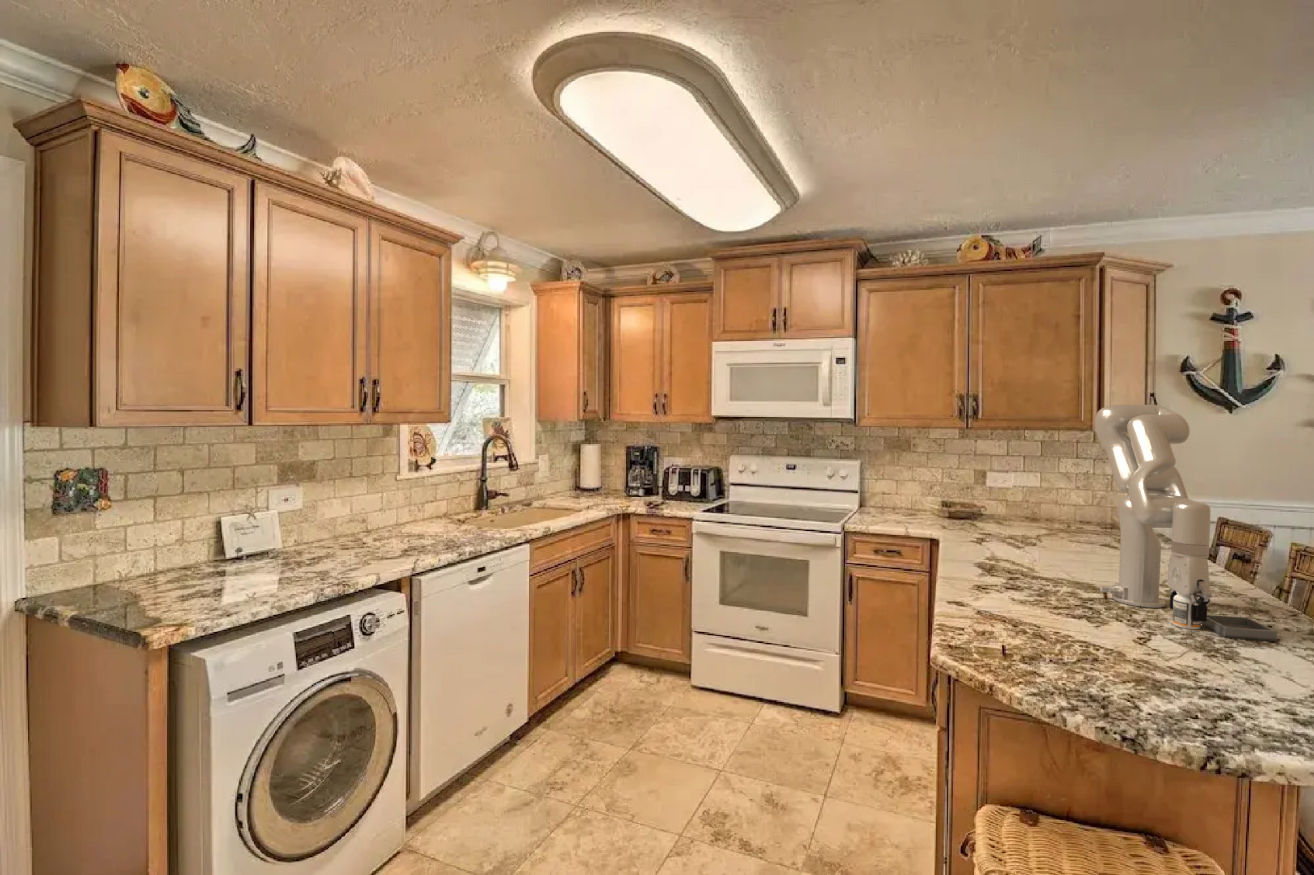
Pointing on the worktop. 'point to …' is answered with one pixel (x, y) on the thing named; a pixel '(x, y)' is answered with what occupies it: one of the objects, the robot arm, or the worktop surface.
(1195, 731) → the worktop surface
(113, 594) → the worktop surface
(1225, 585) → the worktop surface
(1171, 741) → the worktop surface
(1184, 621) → the pill bottle
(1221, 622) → the tray
